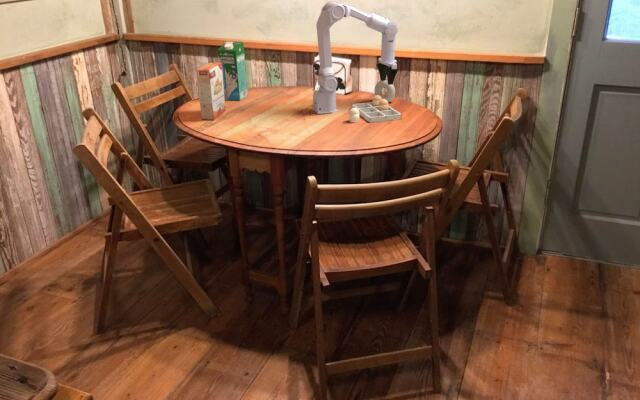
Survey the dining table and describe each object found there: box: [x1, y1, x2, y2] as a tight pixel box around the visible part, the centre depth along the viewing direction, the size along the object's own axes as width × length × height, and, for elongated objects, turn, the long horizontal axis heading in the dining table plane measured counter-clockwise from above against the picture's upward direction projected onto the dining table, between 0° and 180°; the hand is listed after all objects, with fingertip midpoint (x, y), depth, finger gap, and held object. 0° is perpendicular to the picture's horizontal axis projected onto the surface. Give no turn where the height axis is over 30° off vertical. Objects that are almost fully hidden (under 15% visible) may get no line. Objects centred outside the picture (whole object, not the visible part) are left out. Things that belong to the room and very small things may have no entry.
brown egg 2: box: [379, 99, 389, 111], centre depth 227 cm, size 4×4×6 cm
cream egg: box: [348, 107, 360, 124], centre depth 218 cm, size 4×4×6 cm
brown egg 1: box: [372, 94, 382, 107], centre depth 233 cm, size 4×4×6 cm
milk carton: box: [217, 41, 249, 102], centre depth 250 cm, size 9×9×25 cm
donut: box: [373, 79, 396, 103], centre depth 242 cm, size 10×4×10 cm, turn 57°
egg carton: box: [351, 101, 403, 124], centre depth 227 cm, size 14×20×2 cm
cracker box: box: [196, 62, 226, 121], centre depth 227 cm, size 14×6×21 cm, turn 168°
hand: (386, 82), depth 237 cm, fingers open, 7 cm apart
